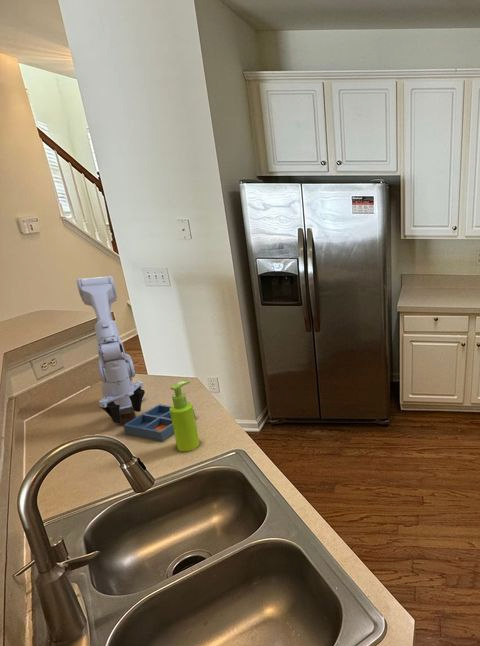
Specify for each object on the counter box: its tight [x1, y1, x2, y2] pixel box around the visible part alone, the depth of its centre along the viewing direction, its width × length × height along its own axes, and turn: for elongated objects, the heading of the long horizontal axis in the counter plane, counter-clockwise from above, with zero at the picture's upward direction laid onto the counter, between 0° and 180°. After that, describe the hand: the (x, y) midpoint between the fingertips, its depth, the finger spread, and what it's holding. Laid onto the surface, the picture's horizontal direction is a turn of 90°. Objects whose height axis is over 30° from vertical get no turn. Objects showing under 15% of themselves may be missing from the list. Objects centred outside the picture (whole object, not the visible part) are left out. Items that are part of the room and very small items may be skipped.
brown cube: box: [119, 406, 137, 426], centre depth 139 cm, size 4×4×4 cm
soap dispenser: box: [169, 380, 200, 452], centre depth 124 cm, size 6×7×20 cm
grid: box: [122, 403, 196, 442], centre depth 137 cm, size 14×14×3 cm
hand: (127, 416), depth 139 cm, fingers open, 7 cm apart
